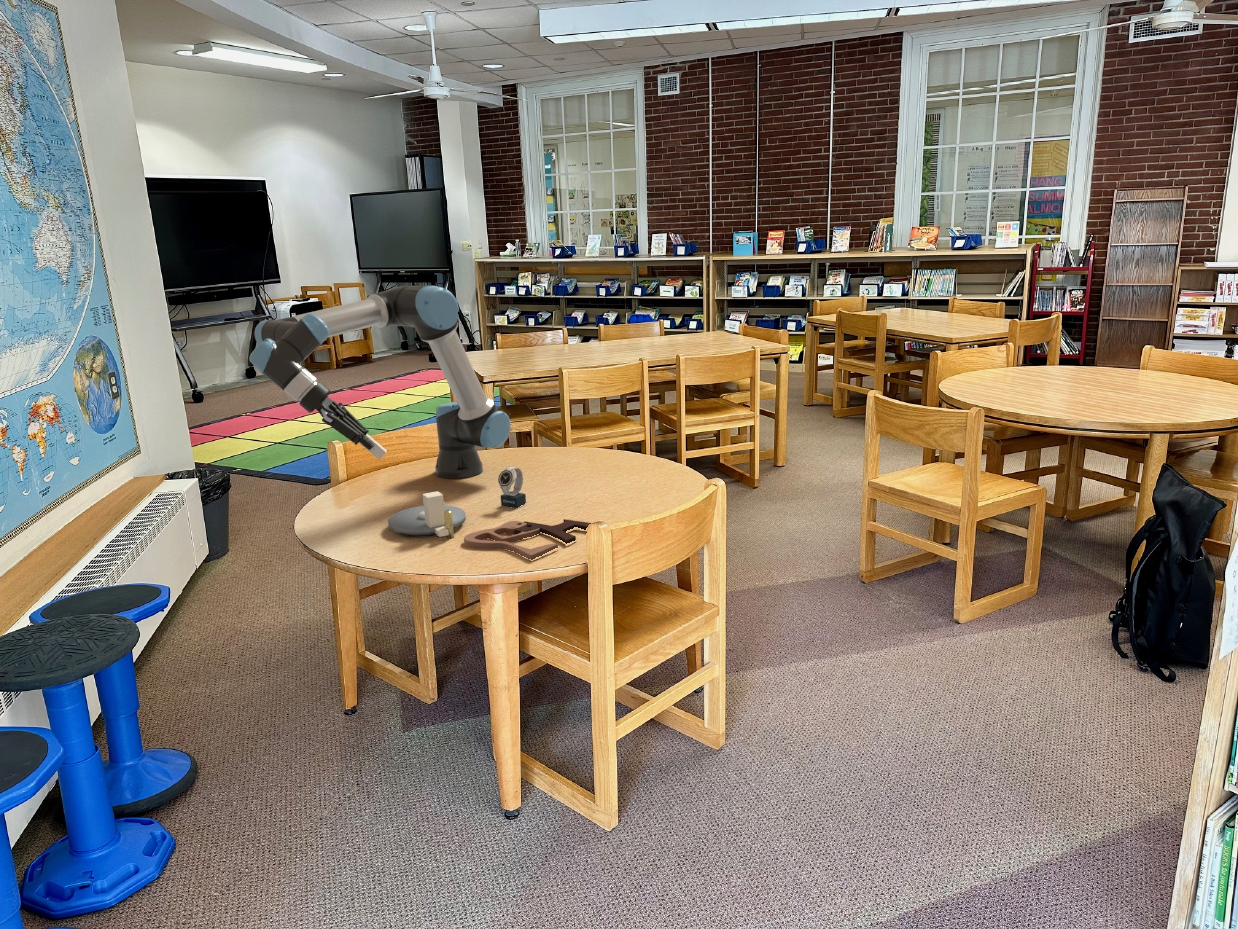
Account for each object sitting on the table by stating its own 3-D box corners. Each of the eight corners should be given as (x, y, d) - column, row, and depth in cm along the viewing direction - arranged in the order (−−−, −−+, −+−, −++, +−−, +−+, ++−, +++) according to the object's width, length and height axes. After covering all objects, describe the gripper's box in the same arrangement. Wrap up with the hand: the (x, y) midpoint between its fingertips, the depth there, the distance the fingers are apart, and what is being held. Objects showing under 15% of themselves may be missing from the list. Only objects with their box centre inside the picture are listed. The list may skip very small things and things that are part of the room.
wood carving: (603, 532, 215) (537, 515, 230) (603, 524, 215) (537, 508, 229) (525, 566, 195) (458, 545, 209) (524, 558, 194) (457, 537, 209)
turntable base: (424, 513, 233) (423, 510, 232) (470, 521, 225) (470, 517, 225) (383, 532, 219) (383, 528, 219) (432, 540, 212) (432, 536, 212)
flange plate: (379, 518, 225) (376, 485, 223) (451, 504, 235) (448, 473, 232) (404, 543, 206) (401, 508, 203) (481, 528, 215) (479, 494, 213)
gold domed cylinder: (449, 535, 215) (447, 509, 213) (455, 536, 214) (453, 510, 212) (444, 538, 213) (442, 511, 211) (450, 539, 212) (448, 512, 211)
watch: (496, 507, 236) (494, 470, 233) (514, 500, 243) (511, 463, 240) (513, 510, 233) (510, 472, 230) (529, 502, 240) (527, 465, 237)
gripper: (306, 397, 213) (378, 458, 219) (290, 408, 200) (368, 473, 206) (325, 375, 212) (397, 438, 218) (311, 386, 199) (388, 452, 205)
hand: (383, 455), depth 212 cm, fingers closed
